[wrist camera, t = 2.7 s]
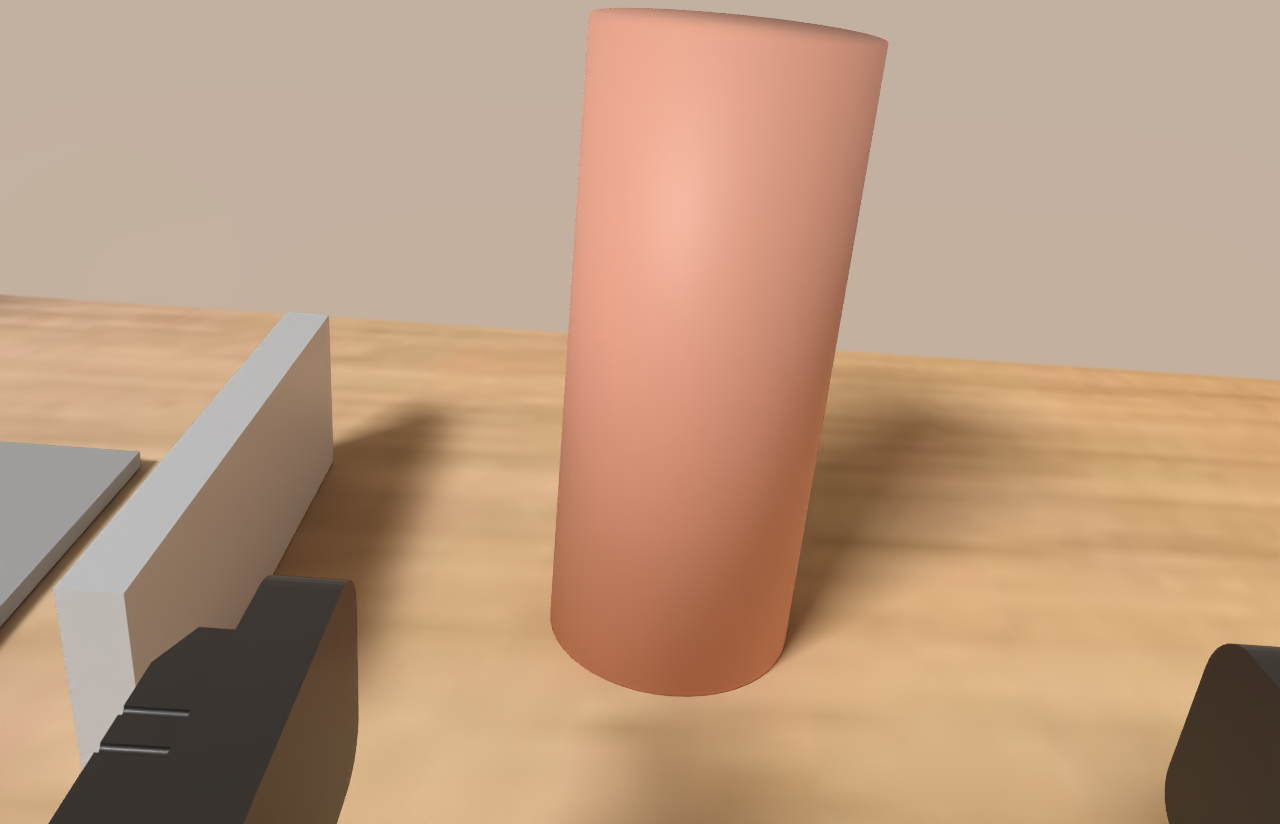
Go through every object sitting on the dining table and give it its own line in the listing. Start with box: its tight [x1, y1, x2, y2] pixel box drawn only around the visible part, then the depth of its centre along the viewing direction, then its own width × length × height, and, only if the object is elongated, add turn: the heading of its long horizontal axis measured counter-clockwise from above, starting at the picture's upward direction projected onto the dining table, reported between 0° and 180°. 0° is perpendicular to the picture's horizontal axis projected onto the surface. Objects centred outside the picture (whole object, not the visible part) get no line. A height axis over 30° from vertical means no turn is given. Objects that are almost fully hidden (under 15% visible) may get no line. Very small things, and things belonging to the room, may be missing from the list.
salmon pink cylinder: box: [551, 8, 888, 696], centre depth 21 cm, size 5×5×12 cm
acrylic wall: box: [53, 312, 334, 770], centre depth 22 cm, size 1×12×4 cm, turn 1°
